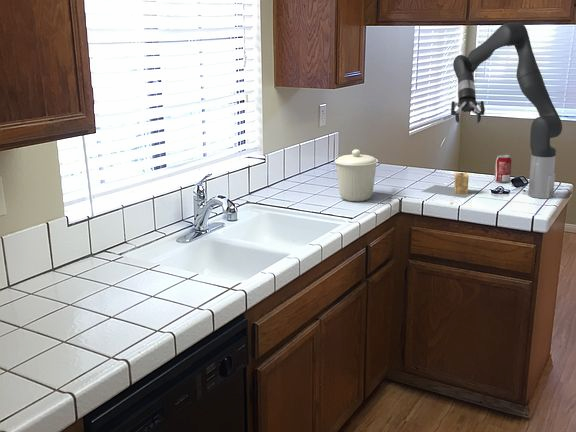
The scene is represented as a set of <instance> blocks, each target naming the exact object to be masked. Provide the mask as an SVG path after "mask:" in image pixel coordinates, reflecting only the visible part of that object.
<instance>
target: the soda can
mask: <svg viewBox="0 0 576 432" xmlns="http://www.w3.org/2000/svg"><path fill="white" fill-rule="evenodd" d="M494 168H495V169H494V181H495V182H496V183H499V184H507V183H509V182H510V181H511V172H512V171H511V170H512V159H511V155H509V154H499V155H497V157H496V159H495V167H494Z"/></svg>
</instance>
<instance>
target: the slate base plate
mask: <svg viewBox="0 0 576 432" xmlns="http://www.w3.org/2000/svg"><path fill="white" fill-rule="evenodd" d="M421 192H422V193H429V194H434V195H435V194H436V195H442V196H447V197H455V198H461V199H467V198H469V197H470V196H472V195H475V194H476V193H478V192H479V190H476V189H469V188H468V194H455V192H454V187H453V186H446V185H440V184H439V185H438V184H435V185H433V186H430V187H428V188H426V189H424V190H421Z"/></svg>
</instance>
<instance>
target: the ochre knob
mask: <svg viewBox="0 0 576 432" xmlns="http://www.w3.org/2000/svg"><path fill="white" fill-rule="evenodd" d="M453 186H454V192H455V194H468V189H469V173H468V172H454V183H453Z"/></svg>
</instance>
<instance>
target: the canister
mask: <svg viewBox="0 0 576 432" xmlns="http://www.w3.org/2000/svg"><path fill="white" fill-rule="evenodd" d="M333 161H334V163H335V167H336V174H337V183H338V184H337V185H338V189H339V190H338V191H339V195H340V197H341V199H343V200H344V201H348V202H363V201H367V200H369V199H371V197H372V195H373V192H374V186H375V178H376V177H375V176H376V171H377V164H378V163H379V160H378V159H377V158H375V157H374V156H372V155H368V154H361V151H360V149H353V150H352V151H351V154H346V155H344V154H343V155H340V156H339V157H337V158H336V159H334V160H333Z"/></svg>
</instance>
